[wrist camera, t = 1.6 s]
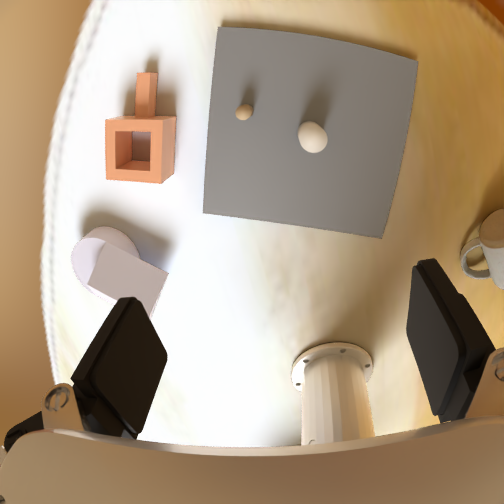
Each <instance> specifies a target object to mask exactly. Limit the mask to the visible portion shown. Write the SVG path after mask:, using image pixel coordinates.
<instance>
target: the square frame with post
mask: <svg viewBox="0 0 504 504" xmlns="http://www.w3.org/2000/svg"><path fill="white" fill-rule="evenodd" d="M157 78H158V73H152V72H147V73H137V84H136V101H135V116H120V117H115V118H111V119H107V120H105V156H106V179H107V180H121V181H135V182H147V183H159V184H161V183H163V182H164V181H165V180H166V179H168V178H169V177H170V176H171V175H173V174H174V155H175V132H176V116H155V108H156V91H157ZM132 131H140V132H151V149H150V161H135V160H132Z"/></svg>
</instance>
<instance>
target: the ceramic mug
mask: <svg viewBox="0 0 504 504" xmlns="http://www.w3.org/2000/svg"><path fill="white" fill-rule="evenodd" d="M478 246H481V247H482V250H483V253H484V255H485V258H486V261H487V264H488V268H489V269H487V270H481V271H477V270H472V269H470V268H469V267H468V265H467V263H466V258H467V257H466V254H467V253H468V252H469V251H470V250H472V249H474V248H476V247H478ZM460 260H461V267H462V270H463V271H464V273H465V274H466V275H467V276H468V277H471V278H474V279H487V278H492V279H493V281H494V283H495V285H496V286H497V287H499V288H500V289H503V290H504V208H502V209H499V210H496V211H495V212H493V213H491V214H490V215H489V216H488V217H487V218H486V219H485V220H484V222H483V223H482V225H481V227H480V231H479V238H476V239H473V240H471V241H470V242H468V243H467V244H466V245H465V246H464V247H463V249H462V251H461V255H460Z"/></svg>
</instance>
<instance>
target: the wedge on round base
mask: <svg viewBox="0 0 504 504" xmlns="http://www.w3.org/2000/svg"><path fill="white" fill-rule="evenodd" d="M71 262H72V267H73V270H74V273H75V275H76V277H77V278H78V280H79V281H80V283H81V284H82V285H83V286H84V287H85V288H86V289H87V290H88V291H90V292H91V293H93V294H94V295H96V296H98V297H100V298H102V299H104V300H105V301H107V302H109V303H111V304H113V305H115V304H116V302H117V301H118V299H119V298H122V297H136V298H137V300H140V301H141V302H142V304H143V306H144V308H145V310H146V312H147V314H148V316H149V319H150V320H151V318H152V315H153V312H154V310H155V307H156V305H157V302H158V299H159V297H160V294H161V292H162V289H163V286H164V284H165V281H166V279H167V276H168V274H169V273H167V272H165V271H163V270H161V269H159V268H157V267H155V266H153V265H151V264H149V263H147V262H145V261H143V260H141V259H140V256H139V253H138V250H137V248H136V246H135V245H134V243H133V242H132V241H131V240H130V238H129V237H127V236H126V235H125V234H124V233H123V232H121V231H119V230H117V229H115V228H112V227H107V226H102V227H97V228H95V229H93V230H91V231H90V232H89V233H88V234H87V235H86V236H85V237H83V238H82V239H81V240H80V241H79V242H78V243H77V244H76V245H75V246H74V248H73V251H72V255H71Z"/></svg>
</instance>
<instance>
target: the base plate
mask: <svg viewBox="0 0 504 504" xmlns="http://www.w3.org/2000/svg"><path fill="white" fill-rule="evenodd" d="M417 68H418V61H415V60H412V59H409V58H406V57H403V56H399V55H396V54H393V53H389V52H386V51H382V50H378V49H375V48H371V47H367V46H363V45H358V44H354V43H350V42H345V41H340V40H335V39H330V38H325V37H319V36H313V35H307V34H300V33H293V32H285V31H276V30H266V29H254V28H238V27H218V31H217V40H216V49H215V58H214V67H213V77H212V88H211V99H210V110H209V123H208V136H207V150H206V165H205V181H204V200H203V213H206V214H214V215H222V216H230V217H238V218H245V219H253V220H260V221H268V222H275V223H282V224H289V225H296V226H303V227H310V228H317V229H323V230H330V231H337V232H343V233H350V234H356V235H362V236H368V237H375V238H381V239H382V236H383V233H384V229H385V226H386V222H387V219H388V215H389V211H390V207H391V204H392V200H393V196H394V192H395V188H396V184H397V179H398V175H399V171H400V166H401V162H402V157H403V152H404V147H405V143H406V137H407V132H408V127H409V121H410V116H411V110H412V104H413V97H414V90H415V83H416V76H417ZM245 104H248V105H250V106H252V108H253V115H252V116H251V117H249V118H248V119H246V120H240V119H238V118H237V117H236V114H235V111H236V109H237V107H239V106H241V105H245Z"/></svg>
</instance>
